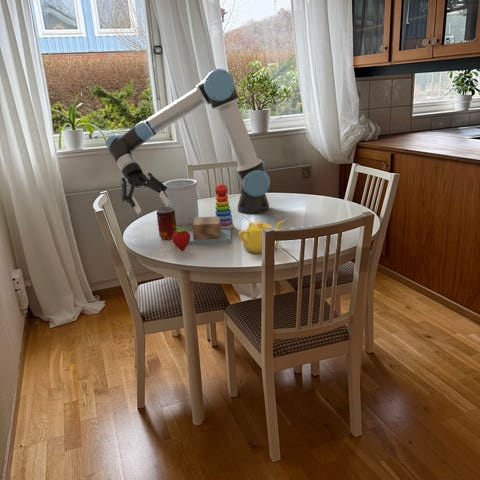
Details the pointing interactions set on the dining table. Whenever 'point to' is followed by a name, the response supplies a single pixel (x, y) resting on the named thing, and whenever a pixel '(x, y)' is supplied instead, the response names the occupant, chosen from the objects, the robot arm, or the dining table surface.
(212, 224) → the block
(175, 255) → the dining table surface
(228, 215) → the stacking toy
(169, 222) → the jam jar
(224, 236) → the base board
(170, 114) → the robot arm
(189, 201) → the utensil holder
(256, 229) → the teapot
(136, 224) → the dining table surface
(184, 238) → the strawberry
